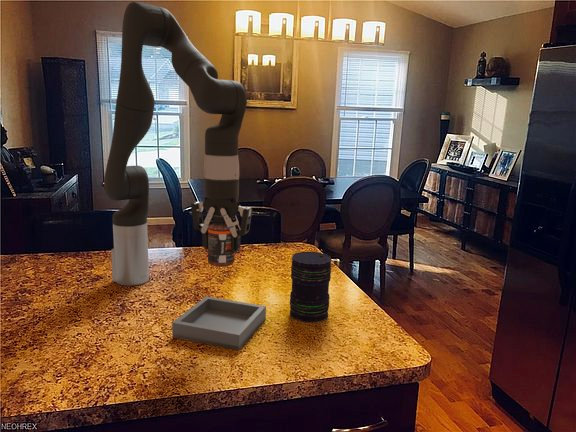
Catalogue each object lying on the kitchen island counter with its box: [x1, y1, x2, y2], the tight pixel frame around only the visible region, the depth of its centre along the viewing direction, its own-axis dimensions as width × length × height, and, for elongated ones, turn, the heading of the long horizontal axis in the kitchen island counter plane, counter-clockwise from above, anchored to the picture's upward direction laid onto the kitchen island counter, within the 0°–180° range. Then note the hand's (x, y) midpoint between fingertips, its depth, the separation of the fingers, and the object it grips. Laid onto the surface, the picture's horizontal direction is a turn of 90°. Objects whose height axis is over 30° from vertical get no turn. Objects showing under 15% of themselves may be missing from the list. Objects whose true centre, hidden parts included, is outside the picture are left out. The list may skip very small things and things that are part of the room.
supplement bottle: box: [207, 215, 235, 268], centre depth 104 cm, size 6×6×11 cm
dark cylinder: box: [289, 251, 332, 324], centre depth 116 cm, size 10×10×15 cm
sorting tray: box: [171, 295, 267, 351], centre depth 108 cm, size 16×16×4 cm
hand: (221, 250), depth 104 cm, fingers closed on supplement bottle, 6 cm apart
